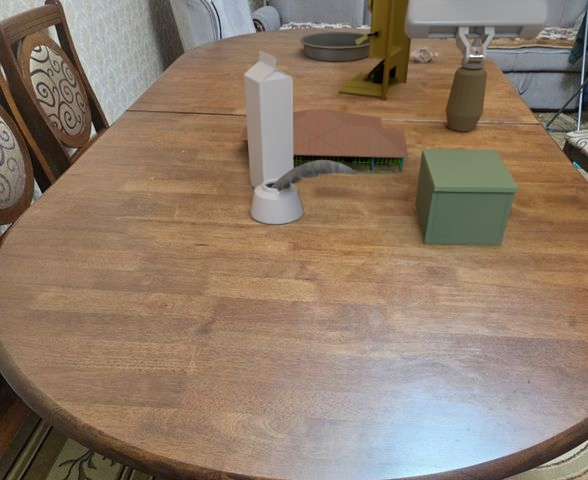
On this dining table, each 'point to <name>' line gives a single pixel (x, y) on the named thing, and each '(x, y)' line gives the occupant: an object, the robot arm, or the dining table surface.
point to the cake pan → (335, 46)
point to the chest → (460, 214)
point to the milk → (269, 120)
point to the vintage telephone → (383, 50)
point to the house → (344, 136)
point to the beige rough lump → (420, 53)
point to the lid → (468, 171)
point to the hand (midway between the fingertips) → (474, 62)
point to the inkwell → (288, 192)
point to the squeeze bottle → (466, 95)
